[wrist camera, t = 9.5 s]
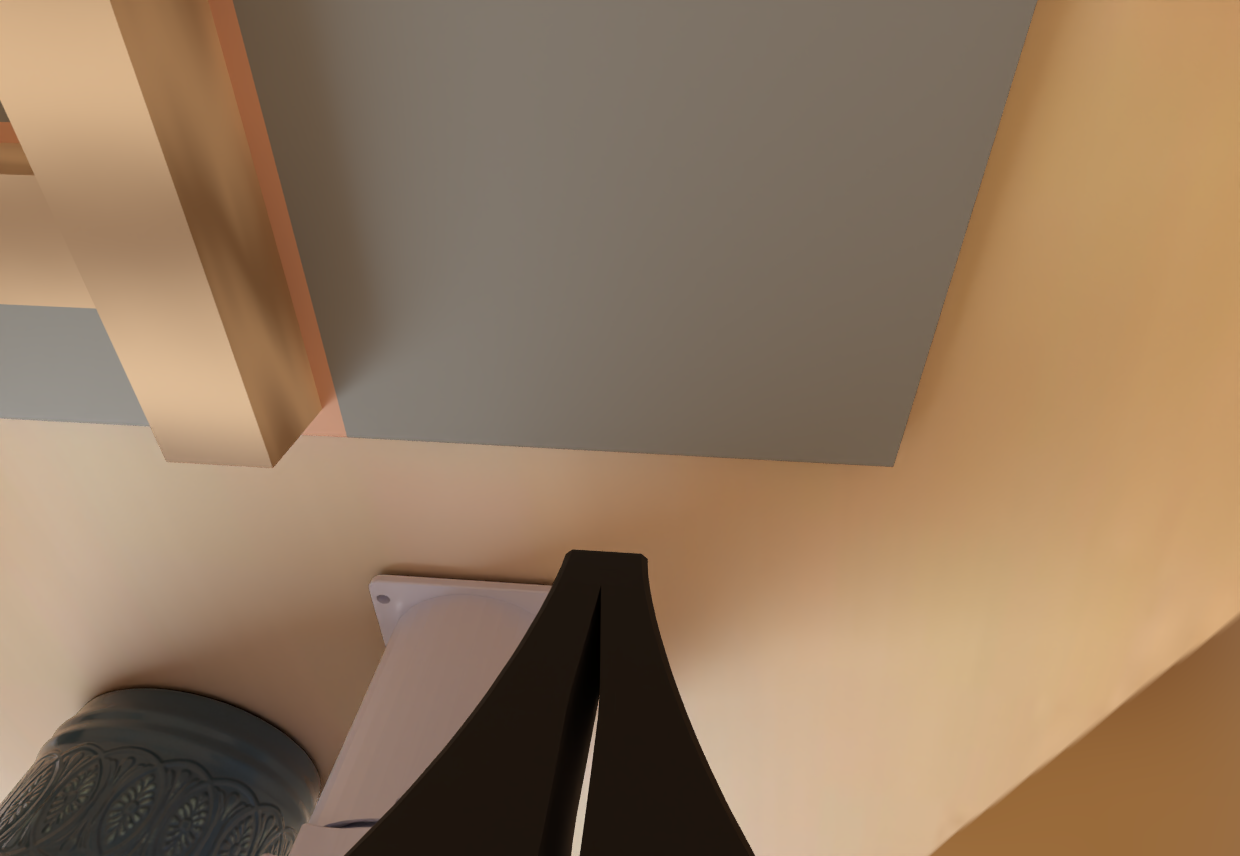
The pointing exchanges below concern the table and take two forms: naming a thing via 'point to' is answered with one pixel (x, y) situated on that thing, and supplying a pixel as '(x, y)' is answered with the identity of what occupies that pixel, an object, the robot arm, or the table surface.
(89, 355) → the slate board
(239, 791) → the canister
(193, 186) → the t block
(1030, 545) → the table surface
